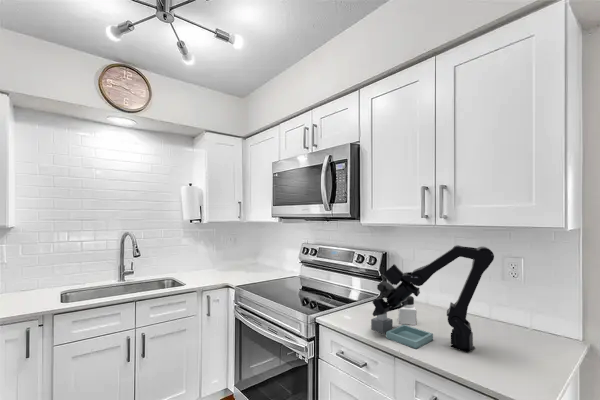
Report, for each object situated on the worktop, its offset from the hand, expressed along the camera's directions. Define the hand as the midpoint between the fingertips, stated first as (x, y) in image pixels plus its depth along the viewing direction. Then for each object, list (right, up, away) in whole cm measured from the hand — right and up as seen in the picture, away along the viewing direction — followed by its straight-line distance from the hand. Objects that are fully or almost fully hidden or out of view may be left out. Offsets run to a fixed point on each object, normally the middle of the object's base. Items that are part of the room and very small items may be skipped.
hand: (379, 313), depth 133 cm
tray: (+9, -6, -11) cm, 16 cm away
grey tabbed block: (+1, -7, -1) cm, 7 cm away
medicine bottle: (+15, -7, +8) cm, 19 cm away
